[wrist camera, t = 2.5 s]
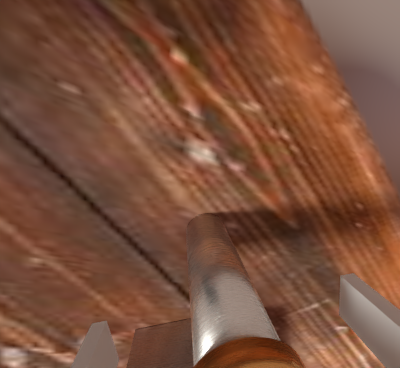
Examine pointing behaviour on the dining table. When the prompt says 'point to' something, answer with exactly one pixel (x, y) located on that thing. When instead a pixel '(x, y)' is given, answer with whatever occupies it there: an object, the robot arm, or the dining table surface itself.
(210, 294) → the grey gold cylinder
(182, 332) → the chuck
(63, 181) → the dining table surface
